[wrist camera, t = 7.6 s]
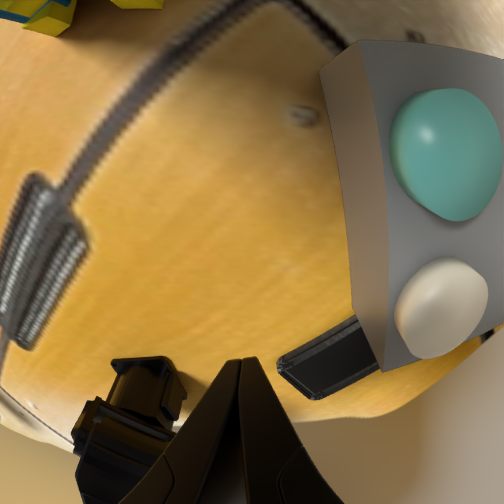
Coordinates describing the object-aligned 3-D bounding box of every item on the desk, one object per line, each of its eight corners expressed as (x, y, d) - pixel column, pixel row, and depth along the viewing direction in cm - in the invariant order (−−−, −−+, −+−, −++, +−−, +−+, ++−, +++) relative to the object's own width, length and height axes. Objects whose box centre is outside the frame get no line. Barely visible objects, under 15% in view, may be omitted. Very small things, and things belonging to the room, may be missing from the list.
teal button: (370, 199, 14) (414, 231, 10) (354, 96, 12) (399, 86, 7) (448, 186, 13) (502, 211, 9) (438, 94, 11) (496, 92, 7)
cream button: (374, 318, 17) (401, 370, 13) (373, 244, 15) (412, 288, 11) (441, 298, 17) (475, 340, 12) (448, 226, 14) (495, 261, 10)
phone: (271, 367, 24) (419, 277, 20) (271, 358, 25) (413, 271, 22) (313, 403, 27) (438, 330, 23) (312, 395, 28) (433, 324, 24)
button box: (352, 306, 22) (382, 372, 16) (318, 71, 15) (357, 40, 8) (457, 276, 21) (502, 323, 15) (449, 70, 14) (516, 63, 7)
